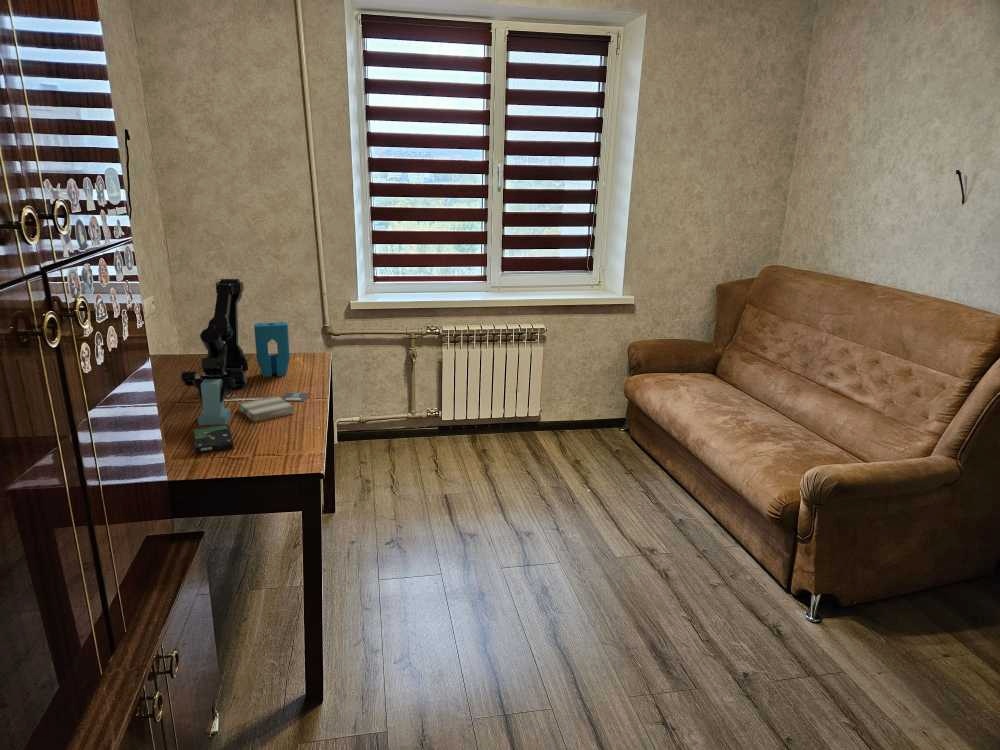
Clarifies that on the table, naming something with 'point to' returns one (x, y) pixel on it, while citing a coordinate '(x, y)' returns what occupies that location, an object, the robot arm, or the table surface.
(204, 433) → the disk drive
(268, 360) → the block
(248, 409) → the cream base block
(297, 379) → the table surface
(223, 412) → the teal block
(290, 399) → the slate card
